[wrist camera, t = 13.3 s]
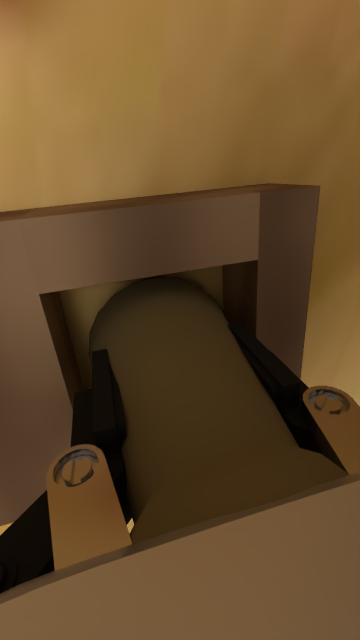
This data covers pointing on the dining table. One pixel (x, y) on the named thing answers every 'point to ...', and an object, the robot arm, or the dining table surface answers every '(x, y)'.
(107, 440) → the robot arm
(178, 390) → the olive peg
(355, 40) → the dining table surface
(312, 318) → the dining table surface
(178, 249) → the socket board
